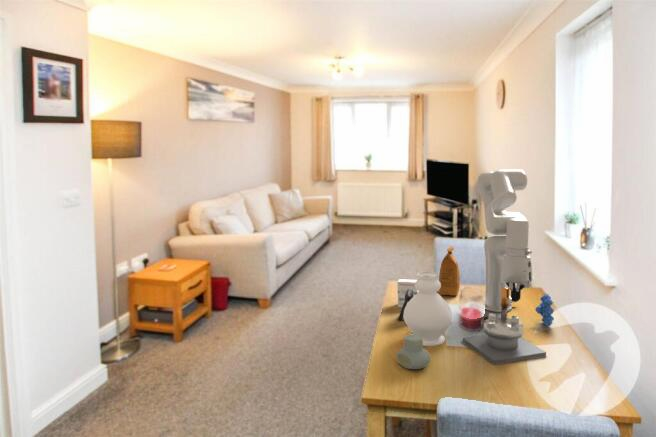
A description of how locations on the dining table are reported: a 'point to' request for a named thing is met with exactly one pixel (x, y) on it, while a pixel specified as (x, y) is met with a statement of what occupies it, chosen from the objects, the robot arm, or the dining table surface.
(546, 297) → the grapes
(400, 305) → the ink box
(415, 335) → the air freshener
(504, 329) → the multicoloured piece
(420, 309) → the decorative vase
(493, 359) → the thin grey metal plate
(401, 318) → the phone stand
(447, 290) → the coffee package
